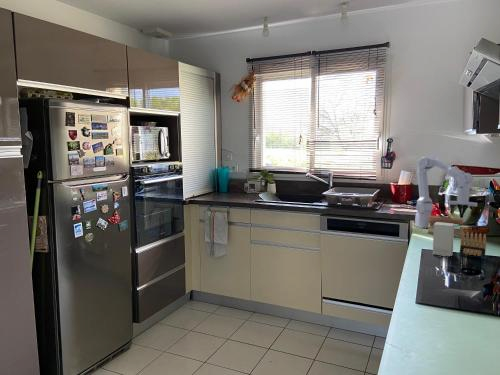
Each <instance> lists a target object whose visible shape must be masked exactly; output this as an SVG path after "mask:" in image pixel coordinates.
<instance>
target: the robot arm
mask: <svg viewBox="0 0 500 375" xmlns="http://www.w3.org/2000/svg"><path fill="white" fill-rule="evenodd" d="M434 167H437V168H439V169H441V170H443V171H444V172H447V175H448V177H449V176H450V177H451V178H453V179H455V180H456V182H457V183H458V184H457V186H458V188H457V198H456V200H448V204H447V205H453V206H455V205H456V206H457V209H458V212H459V218H463V219H464V216H465V213H466V211H467V209H468V208H469V207H478V202H474V201H472V202H471V201H470V200H469V199H470V189H471V182H473V176H472V174H471V173H469V172H465V170H461V169H459V167H458V166H450V165H448V164H447V163H445V162H444V161H442V160H440V159H439V158H438V157H436V156H422V157H420V159H418V166H417V169H416V172H417V184H418V194H419V195H418V196H419V198H418V199H417V200H416V206H415V209H416V213H415V215H414V216H415V217H414V218H415V219H414V223H413V224H412V225H414V226H416V227H418V228H420V229H428V224H429V223H430V222H429V216H432V215H431V214H432V211H434V204H433V199H432V198H430V195H429V194H430V190H429V182H428V172H429V171H430V170H431V169H432V168H434Z"/></svg>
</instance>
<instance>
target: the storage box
mask: <svg viewBox="0 0 500 375" xmlns="http://www.w3.org/2000/svg"><path fill="white" fill-rule="evenodd" d="M434 224H435V223H429V224H428V228H427V234H431V235H434ZM463 231H464V229H463V226H462V227H460V229H454V237H458V238H459V237H462V233H463Z"/></svg>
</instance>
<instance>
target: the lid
mask: <svg viewBox="0 0 500 375" xmlns="http://www.w3.org/2000/svg"><path fill="white" fill-rule="evenodd" d="M464 221H465V220H464V217H463V218H460V217H452V216H450V217H449V216H438V215H431V216H429V222H430V223H436V222H442V223H453V224H462V225H463V223H464Z"/></svg>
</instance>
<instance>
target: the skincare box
mask: <svg viewBox="0 0 500 375" xmlns="http://www.w3.org/2000/svg"><path fill="white" fill-rule="evenodd" d="M432 236H433V238H432V240H433V241H432V242H433V243H432V255H433V254H437V255H444V256H453V255H454V237H455V236H454V224H453V223H442V222H436V223H435V224H434V234H432Z"/></svg>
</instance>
